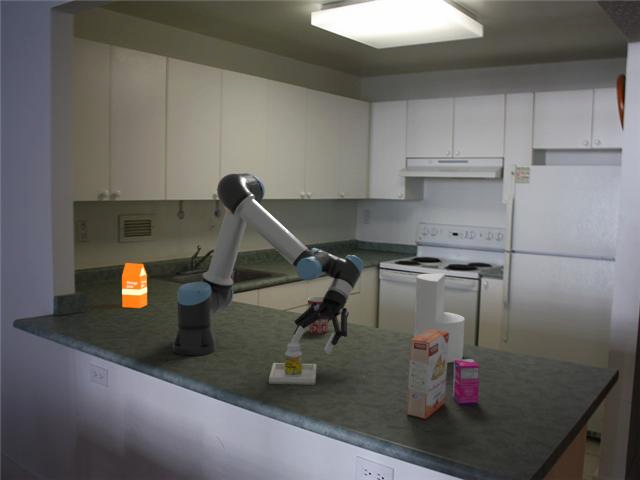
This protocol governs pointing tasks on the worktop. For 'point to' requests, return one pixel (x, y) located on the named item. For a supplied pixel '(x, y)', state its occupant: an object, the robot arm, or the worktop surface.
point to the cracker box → (427, 373)
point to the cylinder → (437, 313)
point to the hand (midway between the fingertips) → (309, 348)
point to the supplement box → (466, 382)
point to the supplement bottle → (293, 360)
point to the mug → (318, 325)
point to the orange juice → (134, 286)
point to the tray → (304, 379)
